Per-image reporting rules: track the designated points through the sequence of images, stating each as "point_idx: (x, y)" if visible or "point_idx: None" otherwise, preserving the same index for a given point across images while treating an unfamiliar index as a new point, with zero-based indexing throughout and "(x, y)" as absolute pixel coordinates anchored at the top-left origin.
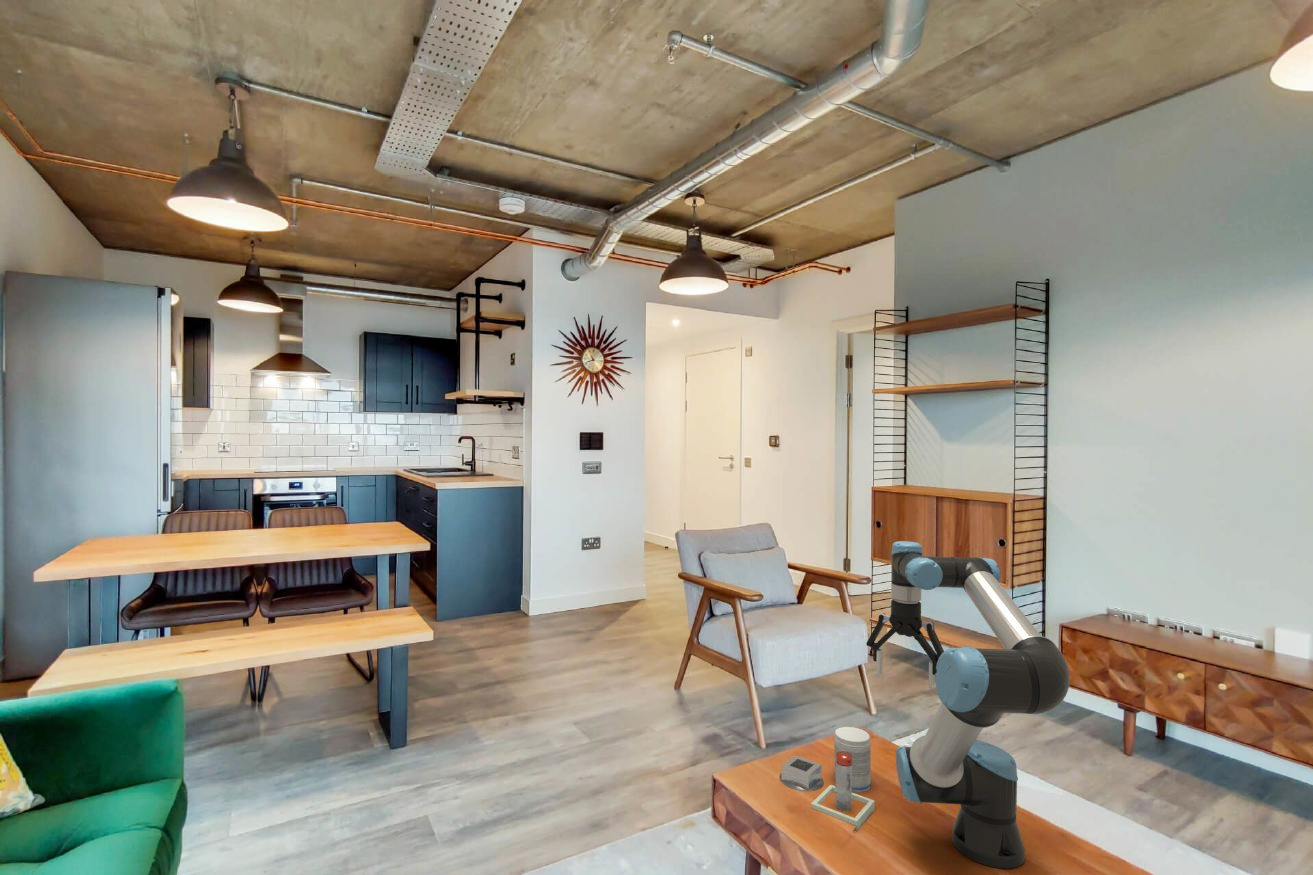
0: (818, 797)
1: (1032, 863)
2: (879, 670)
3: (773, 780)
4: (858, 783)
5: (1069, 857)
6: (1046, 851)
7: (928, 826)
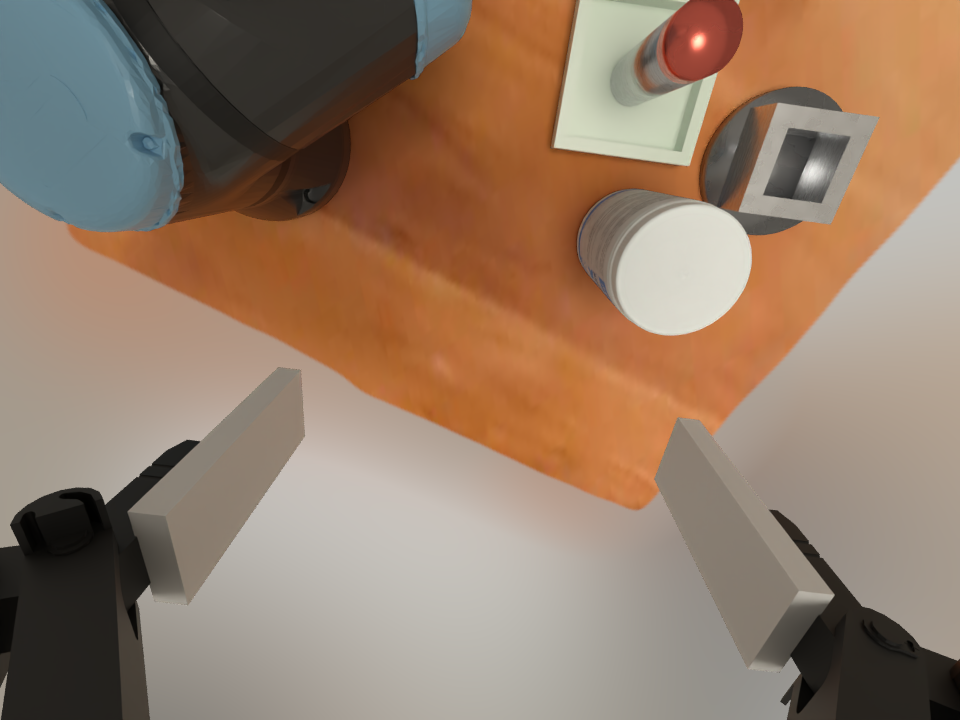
0: None
1: None
2: (689, 447)
3: None
4: (610, 199)
5: None
6: None
7: (411, 150)
